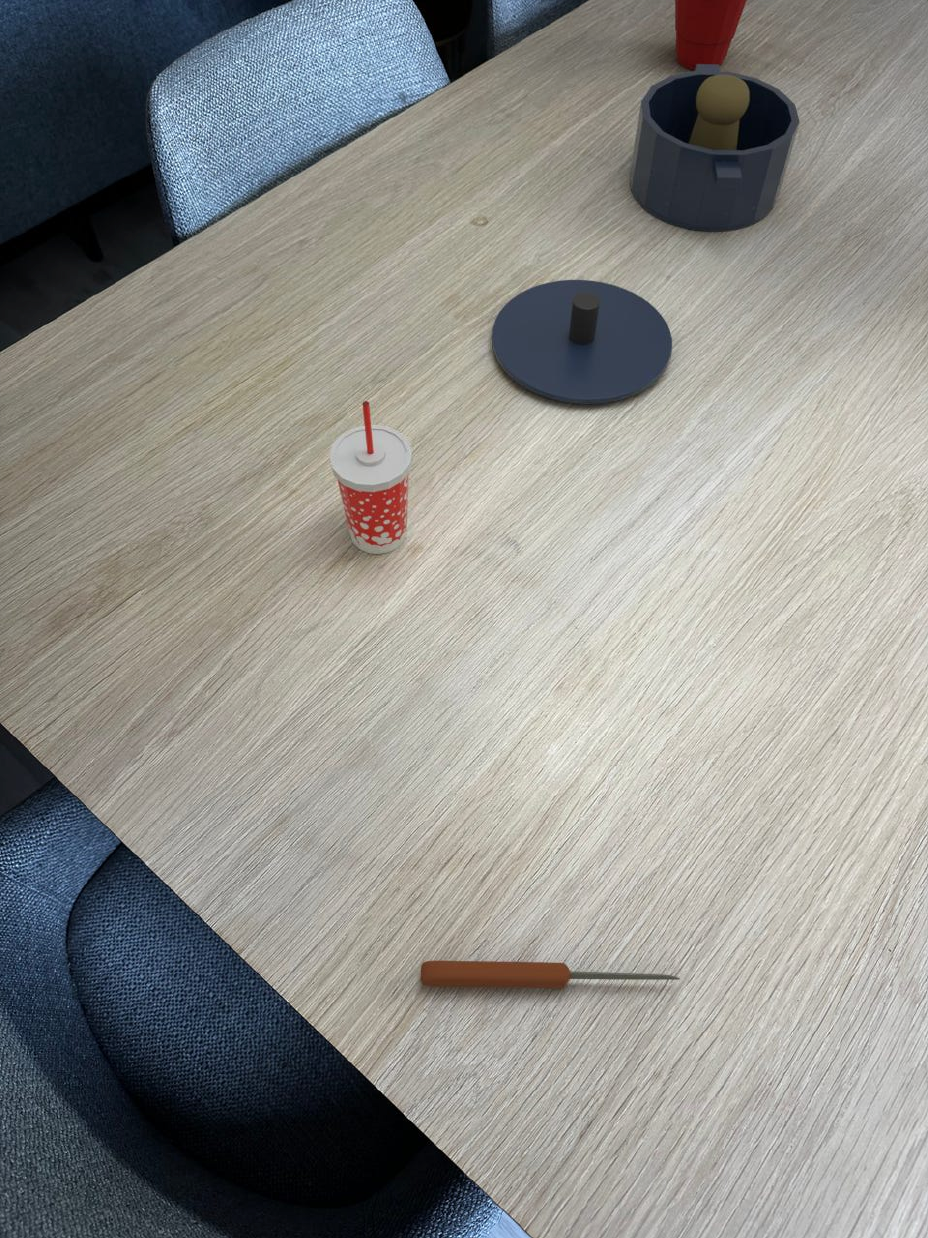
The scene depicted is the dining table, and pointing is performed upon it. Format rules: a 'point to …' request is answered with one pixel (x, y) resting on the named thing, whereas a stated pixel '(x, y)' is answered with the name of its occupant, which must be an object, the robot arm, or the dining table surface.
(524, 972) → the orange-handled awl
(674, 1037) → the dining table surface
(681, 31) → the plastic cup
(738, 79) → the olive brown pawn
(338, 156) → the dining table surface
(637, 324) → the lid
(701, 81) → the pot
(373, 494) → the beverage cup
